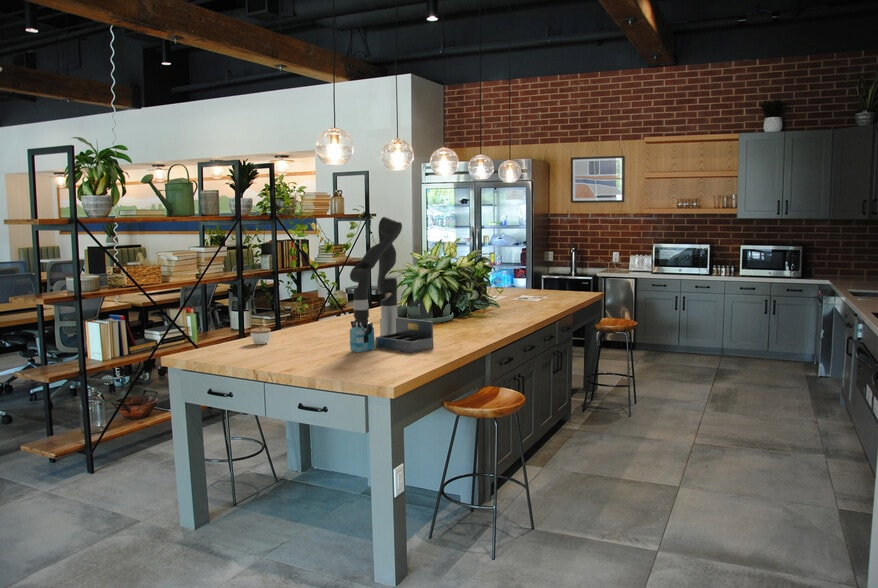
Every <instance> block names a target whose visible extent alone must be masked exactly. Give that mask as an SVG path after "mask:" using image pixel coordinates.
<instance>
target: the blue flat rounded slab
mask: <svg viewBox="0 0 878 588" xmlns="http://www.w3.org/2000/svg"><path fill="white" fill-rule="evenodd" d="M364 329H367V327H366V328H364ZM365 332H366V331H365ZM349 344H350V346H349V349H350V351H351V352H353V353H361V352H368V351H372V350H374V349H375V348H376V344H375V329H374V327H373V326H372V333H371V334H369V335H368V342H367V343H364V333H363V331H362V328H361V327H354V328H352V327H350V329H349Z"/></svg>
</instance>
